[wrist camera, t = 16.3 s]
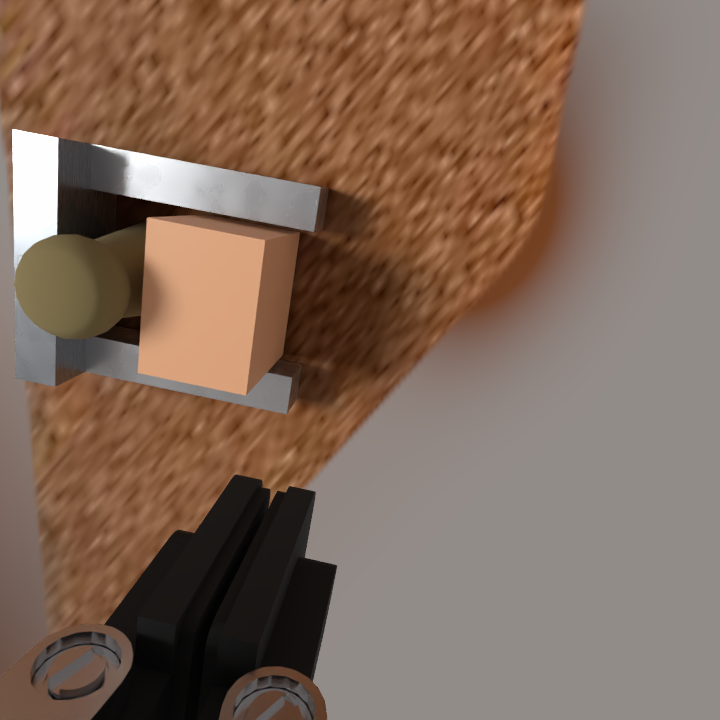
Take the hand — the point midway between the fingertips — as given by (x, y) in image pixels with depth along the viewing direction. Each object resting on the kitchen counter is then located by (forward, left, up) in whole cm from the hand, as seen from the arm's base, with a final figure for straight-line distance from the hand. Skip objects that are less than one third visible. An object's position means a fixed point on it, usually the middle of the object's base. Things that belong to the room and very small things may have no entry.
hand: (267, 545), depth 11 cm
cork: (0, -14, -25) cm, 29 cm away
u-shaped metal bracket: (0, -11, -25) cm, 28 cm away
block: (0, -8, -25) cm, 26 cm away
